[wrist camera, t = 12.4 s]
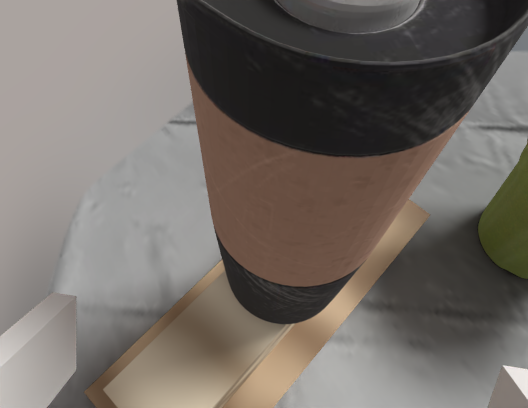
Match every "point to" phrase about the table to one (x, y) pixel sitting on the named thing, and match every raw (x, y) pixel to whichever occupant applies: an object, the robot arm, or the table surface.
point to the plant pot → (508, 222)
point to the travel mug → (327, 127)
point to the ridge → (235, 342)
